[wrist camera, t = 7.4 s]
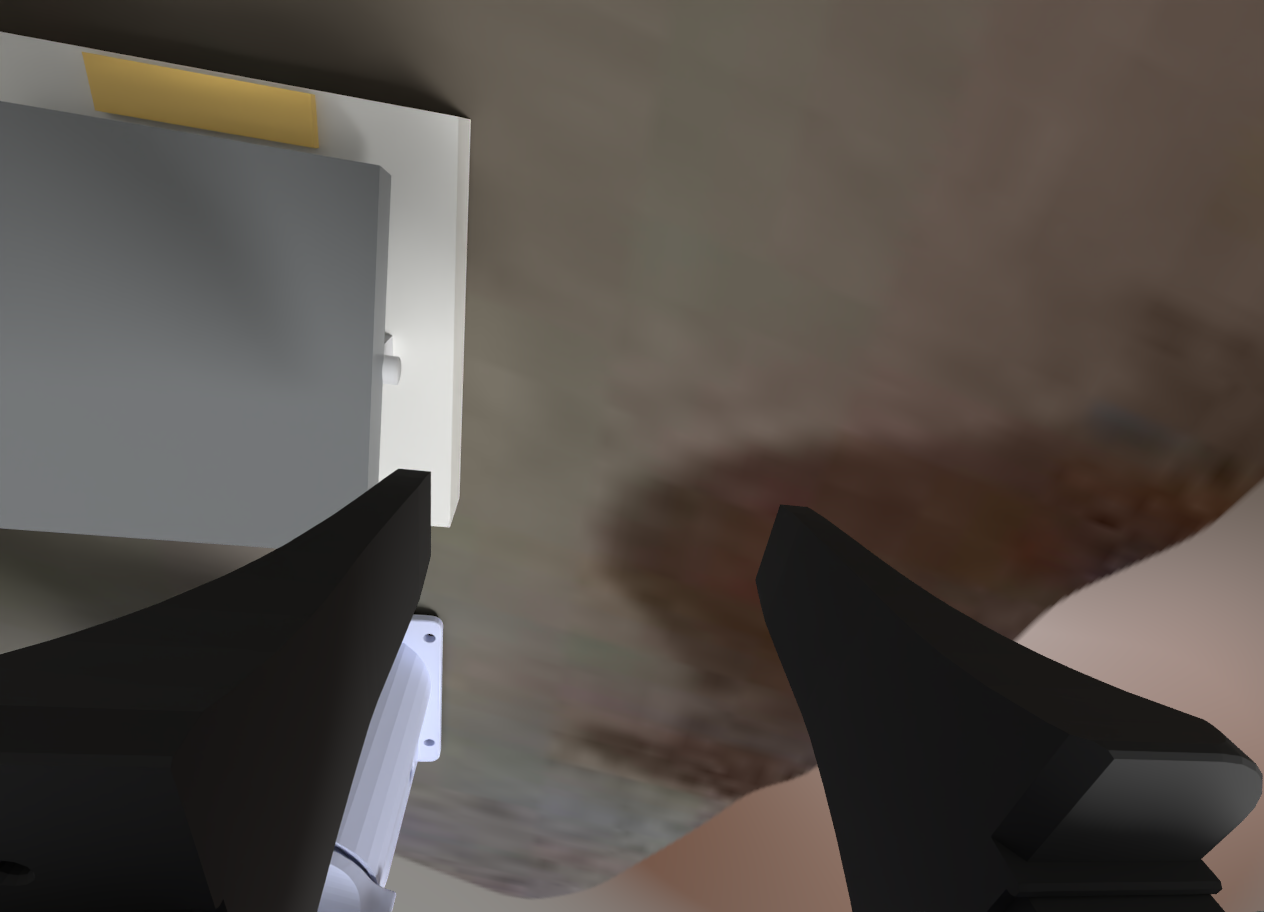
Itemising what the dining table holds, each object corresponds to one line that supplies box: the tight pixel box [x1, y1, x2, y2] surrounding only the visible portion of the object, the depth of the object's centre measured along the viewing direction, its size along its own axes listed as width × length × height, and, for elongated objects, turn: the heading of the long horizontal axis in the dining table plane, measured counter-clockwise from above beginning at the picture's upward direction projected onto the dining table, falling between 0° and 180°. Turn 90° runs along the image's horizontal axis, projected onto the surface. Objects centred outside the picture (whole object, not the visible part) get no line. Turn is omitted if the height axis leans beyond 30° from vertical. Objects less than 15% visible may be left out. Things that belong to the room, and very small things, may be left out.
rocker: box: [0, 101, 401, 548], centre depth 15 cm, size 10×10×2 cm
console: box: [0, 32, 471, 527], centre depth 17 cm, size 13×24×3 cm, turn 81°
